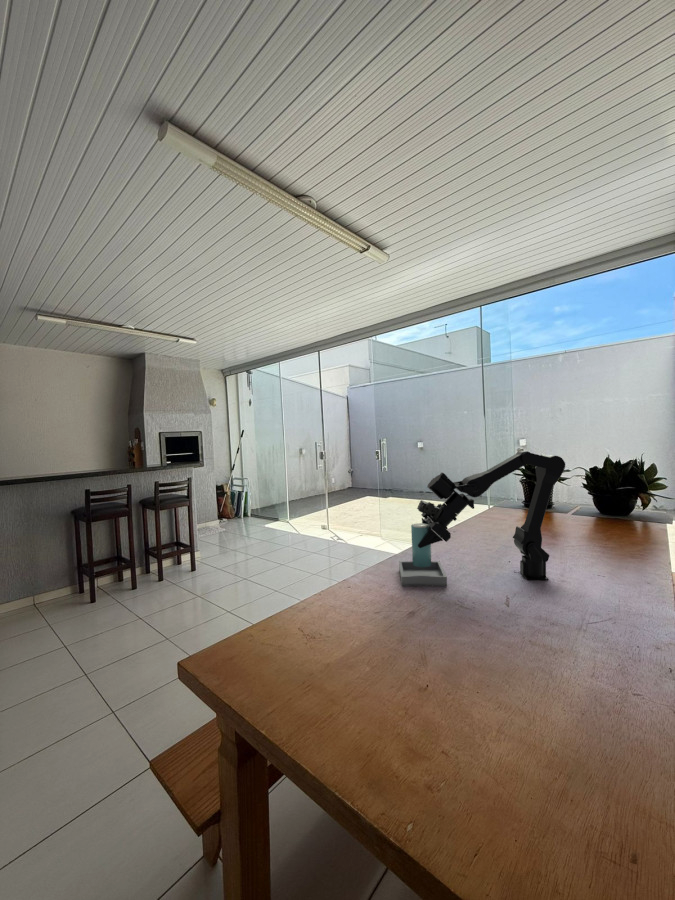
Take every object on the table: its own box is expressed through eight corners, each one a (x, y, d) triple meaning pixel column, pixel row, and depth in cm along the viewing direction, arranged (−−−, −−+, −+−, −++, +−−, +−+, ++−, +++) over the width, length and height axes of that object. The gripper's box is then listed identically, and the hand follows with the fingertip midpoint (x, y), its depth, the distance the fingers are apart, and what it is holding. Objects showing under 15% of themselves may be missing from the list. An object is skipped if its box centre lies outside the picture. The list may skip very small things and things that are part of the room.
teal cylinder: (434, 562, 126) (433, 524, 125) (427, 568, 121) (426, 528, 120) (416, 559, 129) (415, 522, 128) (409, 565, 124) (408, 526, 123)
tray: (439, 569, 131) (439, 561, 131) (447, 586, 118) (446, 576, 118) (399, 569, 133) (399, 561, 133) (401, 586, 119) (401, 576, 119)
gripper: (426, 487, 133) (395, 519, 134) (438, 497, 114) (402, 535, 115) (450, 509, 133) (419, 541, 134) (466, 522, 114) (429, 560, 115)
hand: (417, 543), depth 125 cm, fingers closed on teal cylinder, 6 cm apart
